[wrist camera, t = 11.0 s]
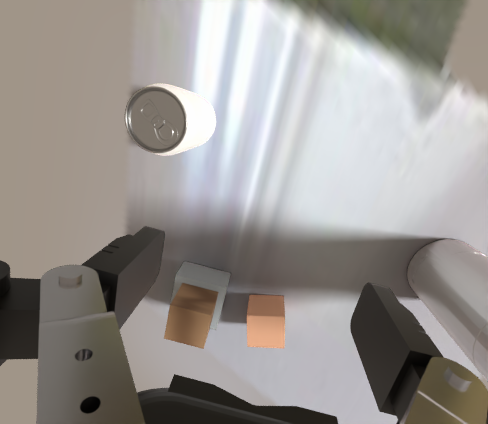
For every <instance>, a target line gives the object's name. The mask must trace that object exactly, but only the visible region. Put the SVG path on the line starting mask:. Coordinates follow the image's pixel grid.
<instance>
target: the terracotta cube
mask: <svg viewBox="0 0 488 424" xmlns="http://www.w3.org/2000/svg"><path fill="white" fill-rule="evenodd" d="M284 342H285V310H284V296H276V295H249V302H248V310H247V343H248V347H266V348H284Z"/></svg>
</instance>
